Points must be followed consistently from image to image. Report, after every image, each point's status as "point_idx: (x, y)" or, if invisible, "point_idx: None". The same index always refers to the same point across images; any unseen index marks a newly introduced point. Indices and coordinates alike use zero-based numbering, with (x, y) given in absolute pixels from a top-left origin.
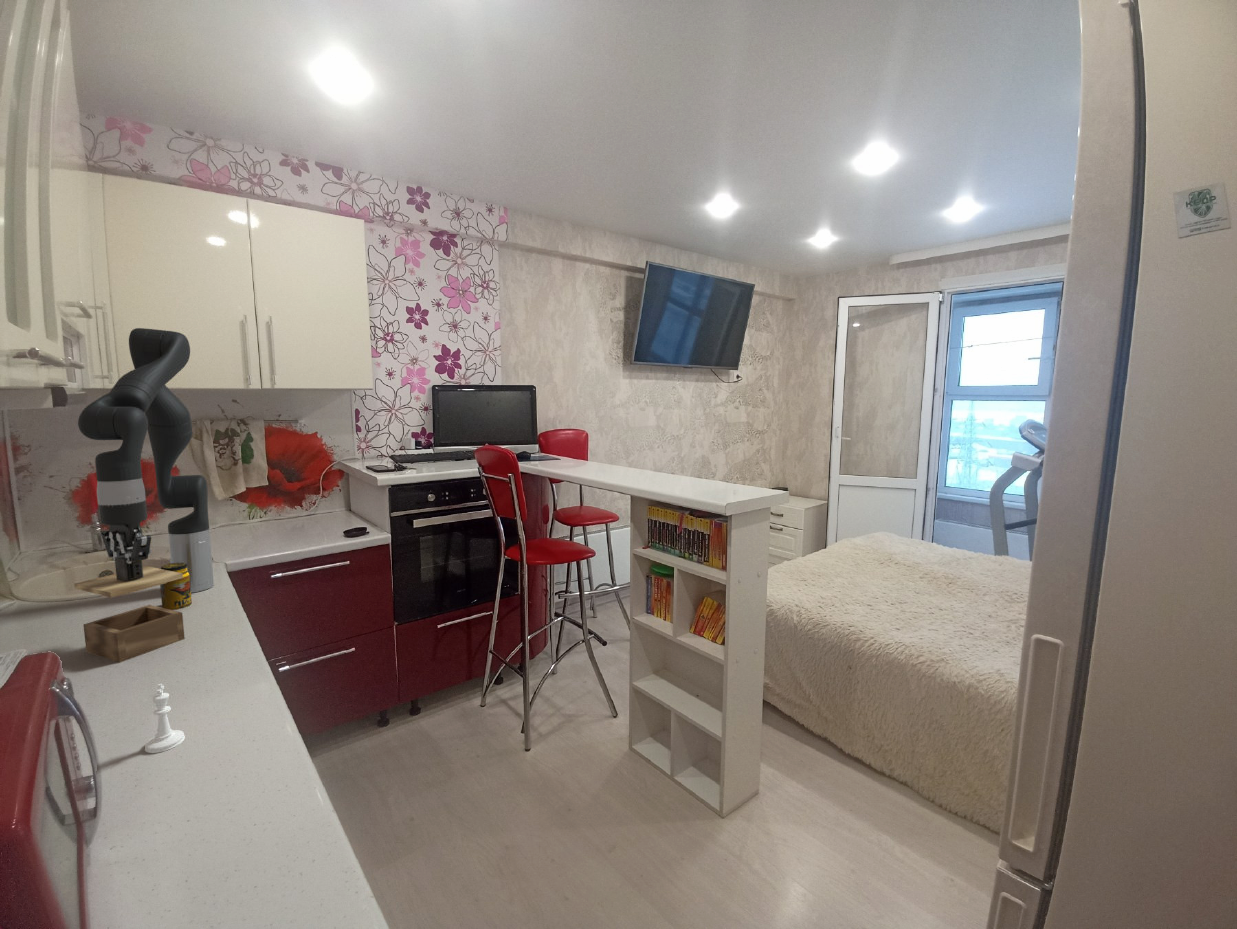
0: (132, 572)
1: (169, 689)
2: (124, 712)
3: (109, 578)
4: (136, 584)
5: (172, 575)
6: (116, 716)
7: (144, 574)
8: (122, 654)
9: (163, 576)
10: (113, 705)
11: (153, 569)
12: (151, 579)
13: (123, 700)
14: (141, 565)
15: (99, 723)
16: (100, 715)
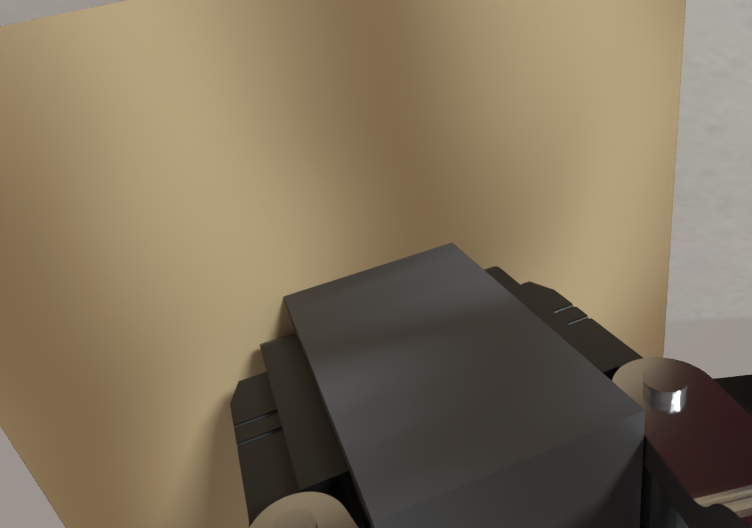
0: None
1: (735, 163)
2: (740, 272)
3: (204, 482)
4: (626, 319)
5: (656, 4)
6: (740, 287)
7: (343, 214)
8: None
9: (604, 87)
10: (682, 286)
11: (143, 68)
12: (599, 201)
13: (679, 264)
14: (532, 320)
15: (734, 317)
16: (702, 312)
